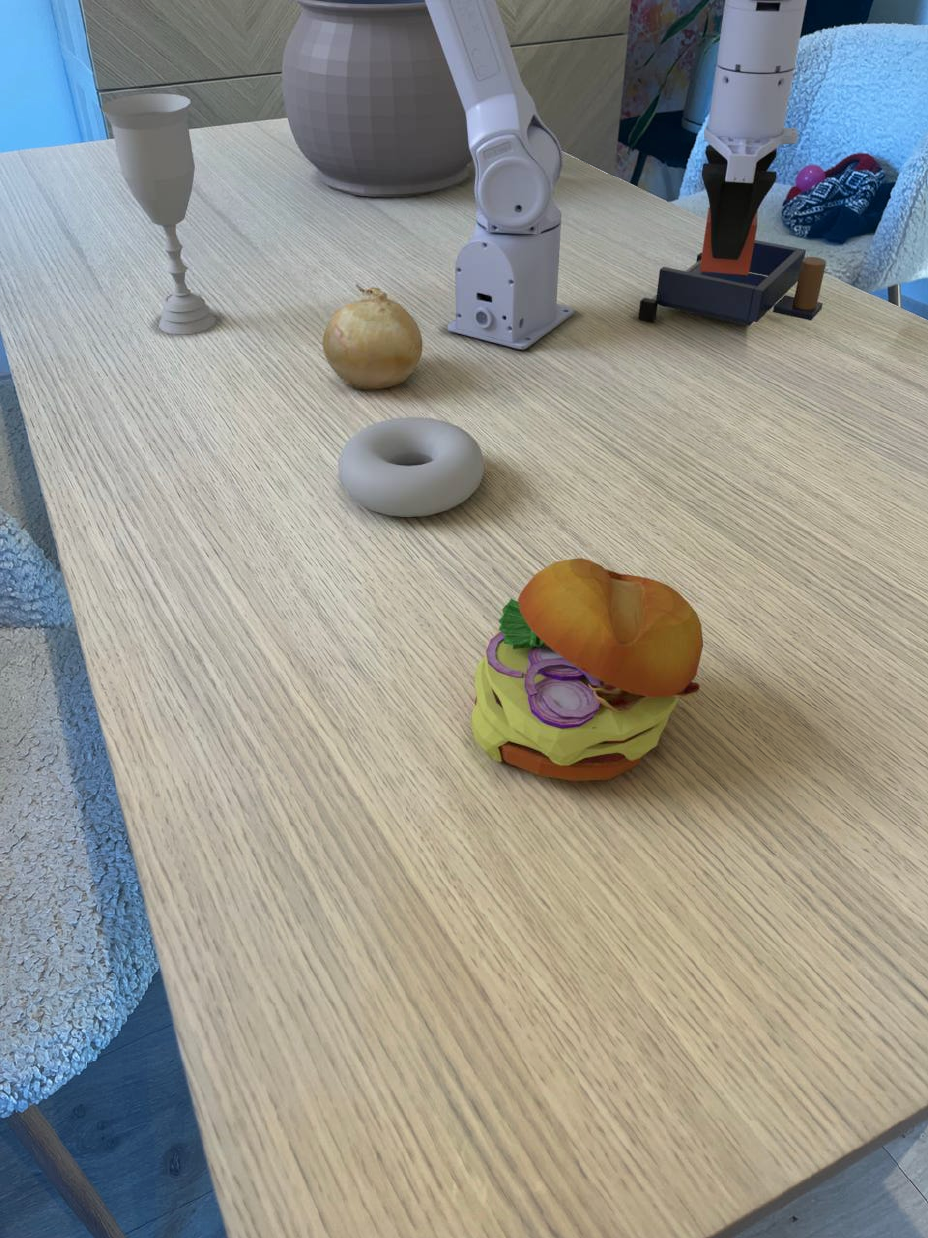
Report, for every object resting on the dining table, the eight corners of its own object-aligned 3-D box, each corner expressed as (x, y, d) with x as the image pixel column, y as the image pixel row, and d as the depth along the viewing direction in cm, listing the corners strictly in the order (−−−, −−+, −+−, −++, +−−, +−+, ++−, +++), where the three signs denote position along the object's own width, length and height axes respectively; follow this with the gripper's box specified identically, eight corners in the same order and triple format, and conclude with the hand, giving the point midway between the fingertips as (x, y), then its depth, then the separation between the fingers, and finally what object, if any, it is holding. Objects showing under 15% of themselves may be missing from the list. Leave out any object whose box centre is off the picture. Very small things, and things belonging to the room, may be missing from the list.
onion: (443, 379, 82) (442, 294, 78) (365, 410, 78) (358, 323, 74) (383, 348, 87) (378, 266, 82) (306, 376, 83) (297, 291, 78)
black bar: (698, 270, 100) (700, 252, 99) (711, 272, 100) (714, 254, 99) (637, 319, 91) (639, 300, 90) (652, 322, 91) (654, 303, 90)
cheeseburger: (429, 688, 54) (468, 526, 49) (595, 670, 59) (647, 521, 53) (513, 824, 47) (570, 650, 41) (694, 790, 51) (767, 631, 46)
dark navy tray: (697, 266, 99) (705, 215, 96) (836, 294, 93) (848, 242, 90) (646, 307, 91) (652, 254, 88) (794, 341, 86) (806, 286, 83)
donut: (309, 496, 69) (423, 544, 64) (303, 451, 67) (420, 498, 62) (403, 437, 75) (513, 477, 70) (400, 395, 73) (513, 433, 68)
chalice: (206, 342, 88) (166, 117, 76) (134, 336, 89) (84, 113, 78) (237, 309, 94) (205, 95, 82) (169, 303, 95) (127, 91, 83)
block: (748, 275, 83) (757, 225, 81) (699, 271, 84) (706, 222, 82) (749, 258, 86) (757, 209, 84) (701, 254, 87) (708, 206, 84)
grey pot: (263, 164, 129) (240, -18, 117) (437, 138, 138) (433, -33, 126) (338, 221, 112) (321, 16, 100) (531, 187, 121) (538, -5, 109)
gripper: (813, 90, 69) (776, 284, 78) (807, 48, 80) (775, 222, 89) (709, 85, 71) (683, 276, 79) (717, 45, 82) (693, 217, 90)
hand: (726, 248), depth 84 cm, fingers closed on block, 4 cm apart
